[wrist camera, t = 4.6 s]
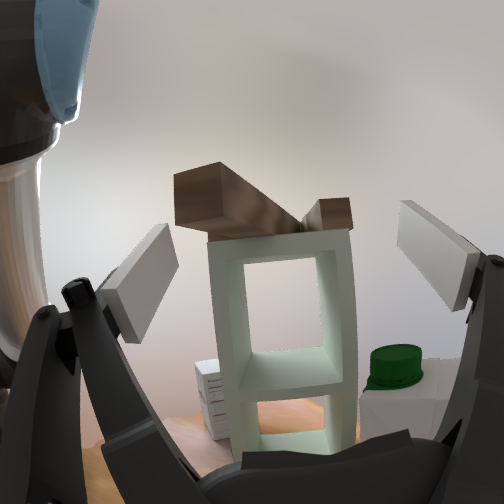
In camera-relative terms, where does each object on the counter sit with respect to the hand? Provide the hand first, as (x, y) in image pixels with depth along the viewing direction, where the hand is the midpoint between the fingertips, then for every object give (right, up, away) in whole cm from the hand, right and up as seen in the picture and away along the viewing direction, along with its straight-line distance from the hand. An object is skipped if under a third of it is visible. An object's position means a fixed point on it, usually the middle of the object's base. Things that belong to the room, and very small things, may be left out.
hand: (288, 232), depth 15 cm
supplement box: (-6, -32, +27) cm, 42 cm away
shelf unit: (+4, -30, +15) cm, 34 cm away
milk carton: (+12, -28, 0) cm, 31 cm away
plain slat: (0, 0, +14) cm, 14 cm away
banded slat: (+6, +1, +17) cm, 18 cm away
